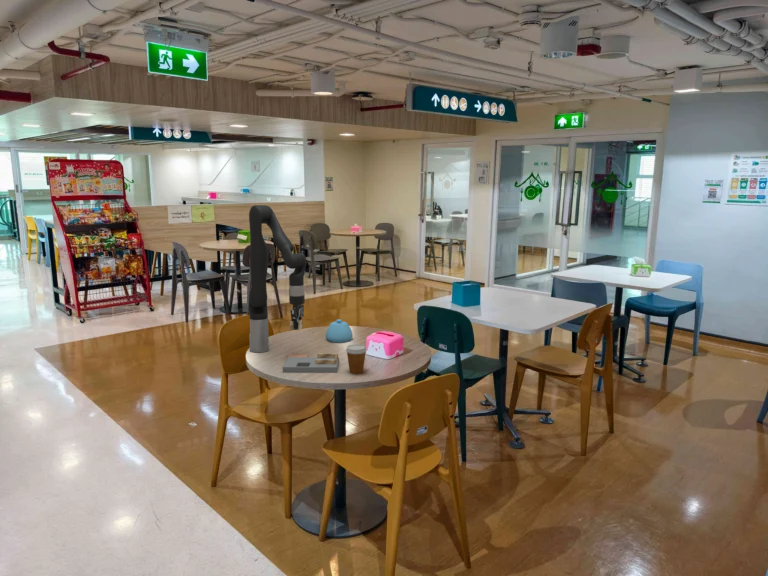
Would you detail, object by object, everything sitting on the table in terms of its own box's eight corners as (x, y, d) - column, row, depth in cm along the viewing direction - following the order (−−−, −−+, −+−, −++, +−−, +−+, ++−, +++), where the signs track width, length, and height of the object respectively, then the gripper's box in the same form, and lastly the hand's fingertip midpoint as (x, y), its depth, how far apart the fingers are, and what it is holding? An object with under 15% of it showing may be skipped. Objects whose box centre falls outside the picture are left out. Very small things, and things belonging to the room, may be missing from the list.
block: (290, 329, 277) (289, 322, 276) (292, 327, 282) (292, 319, 281) (300, 330, 277) (299, 322, 276) (302, 327, 282) (302, 319, 281)
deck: (282, 372, 260) (282, 367, 260) (288, 362, 275) (287, 357, 274) (336, 372, 260) (336, 367, 260) (339, 362, 275) (339, 357, 275)
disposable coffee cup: (347, 368, 266) (347, 343, 264) (367, 369, 266) (367, 344, 263) (344, 374, 257) (344, 349, 255) (365, 375, 256) (365, 350, 254)
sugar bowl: (324, 343, 308) (323, 322, 306) (327, 336, 323) (327, 316, 321) (351, 343, 308) (351, 323, 306) (353, 336, 322) (353, 316, 320)
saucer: (286, 360, 277) (286, 358, 277) (289, 354, 287) (289, 352, 286) (307, 361, 277) (306, 358, 277) (309, 355, 287) (309, 352, 287)
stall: (315, 364, 264) (315, 360, 264) (317, 357, 275) (317, 353, 274) (336, 364, 264) (336, 360, 264) (338, 357, 275) (338, 353, 274)
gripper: (299, 297, 268) (300, 331, 272) (308, 291, 282) (309, 324, 285) (284, 296, 270) (285, 331, 273) (294, 291, 284) (295, 323, 287)
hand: (297, 327), depth 279 cm, fingers closed on block, 5 cm apart
